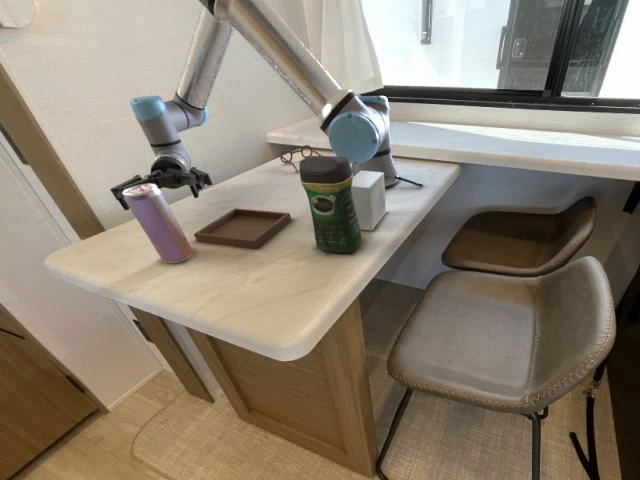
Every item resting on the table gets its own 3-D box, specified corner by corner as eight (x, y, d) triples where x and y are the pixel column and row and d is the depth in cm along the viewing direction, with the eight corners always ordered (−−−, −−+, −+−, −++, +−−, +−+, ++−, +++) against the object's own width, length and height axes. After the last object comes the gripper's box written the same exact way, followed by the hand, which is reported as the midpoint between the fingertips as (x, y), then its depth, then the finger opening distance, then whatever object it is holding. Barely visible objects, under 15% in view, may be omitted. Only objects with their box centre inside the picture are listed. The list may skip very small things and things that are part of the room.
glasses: (313, 157, 124) (310, 143, 121) (329, 164, 116) (326, 149, 113) (281, 165, 118) (277, 150, 115) (296, 172, 110) (293, 157, 107)
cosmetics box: (373, 231, 74) (368, 186, 67) (348, 228, 75) (341, 185, 69) (387, 212, 81) (384, 171, 75) (364, 210, 83) (359, 169, 76)
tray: (291, 220, 80) (289, 213, 79) (257, 249, 70) (254, 241, 68) (237, 215, 84) (234, 208, 83) (197, 241, 74) (193, 233, 72)
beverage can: (172, 267, 65) (130, 197, 56) (158, 260, 68) (114, 191, 58) (199, 254, 69) (163, 186, 59) (184, 247, 72) (148, 181, 62)
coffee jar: (366, 238, 71) (355, 151, 59) (353, 257, 65) (339, 164, 54) (327, 235, 73) (309, 149, 62) (312, 252, 68) (288, 162, 56)
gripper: (226, 176, 89) (227, 203, 74) (124, 193, 82) (102, 226, 67) (215, 148, 85) (214, 170, 70) (106, 163, 77) (78, 191, 62)
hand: (159, 197), depth 68 cm, fingers open, 13 cm apart
